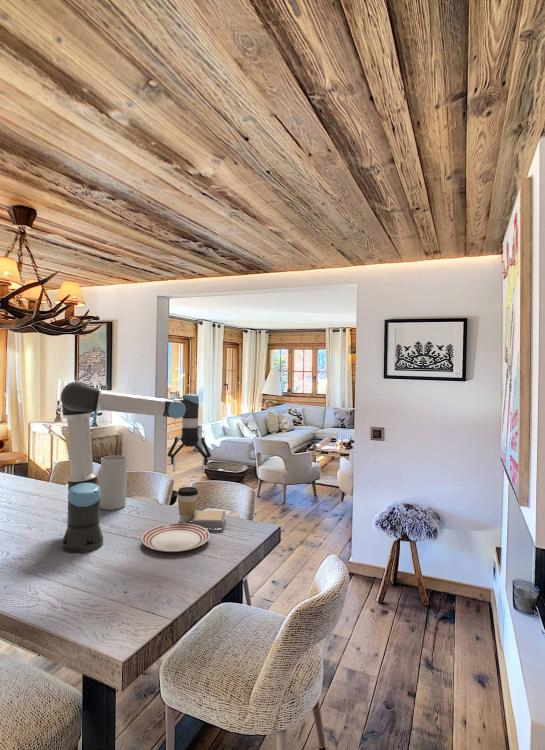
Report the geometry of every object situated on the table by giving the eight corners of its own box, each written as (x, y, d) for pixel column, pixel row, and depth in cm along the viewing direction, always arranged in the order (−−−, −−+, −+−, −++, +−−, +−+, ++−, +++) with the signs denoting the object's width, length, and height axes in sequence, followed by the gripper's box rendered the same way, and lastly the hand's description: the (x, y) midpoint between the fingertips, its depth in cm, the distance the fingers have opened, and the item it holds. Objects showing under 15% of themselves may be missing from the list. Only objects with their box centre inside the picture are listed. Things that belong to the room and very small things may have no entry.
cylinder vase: (109, 512, 204) (111, 461, 204) (94, 507, 211) (95, 458, 211) (130, 505, 215) (132, 457, 215) (114, 501, 221) (116, 454, 221)
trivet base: (222, 530, 186) (223, 521, 186) (191, 529, 185) (191, 520, 185) (225, 519, 200) (225, 510, 200) (196, 518, 199) (196, 510, 199)
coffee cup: (198, 517, 201) (199, 486, 201) (195, 524, 191) (196, 492, 191) (178, 517, 201) (179, 486, 201) (174, 524, 191) (175, 491, 191)
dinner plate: (211, 555, 161) (212, 546, 161) (138, 559, 155) (138, 550, 155) (207, 529, 187) (207, 521, 187) (144, 531, 182) (144, 524, 182)
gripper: (217, 426, 200) (216, 470, 200) (165, 425, 199) (164, 469, 199) (215, 428, 193) (214, 474, 193) (161, 427, 192) (160, 472, 192)
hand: (188, 471), depth 196 cm, fingers open, 13 cm apart
